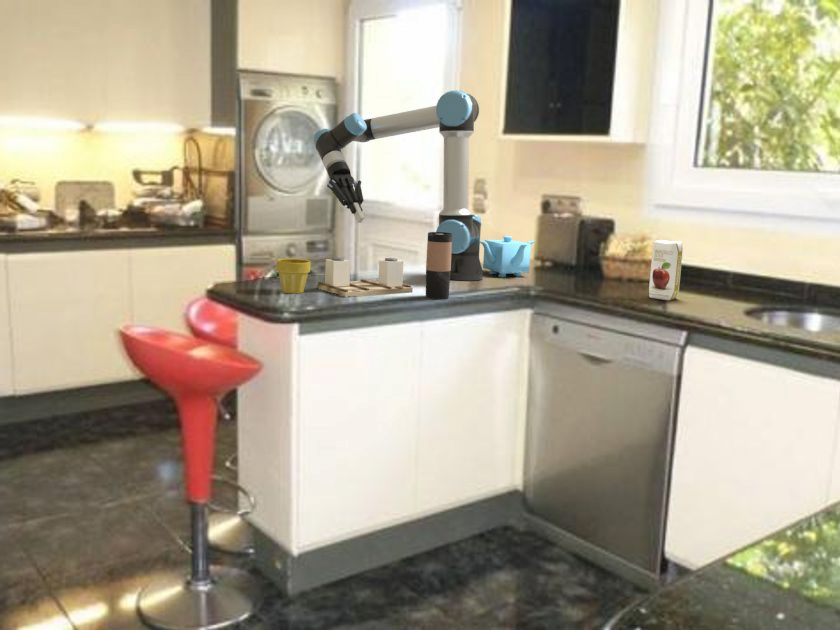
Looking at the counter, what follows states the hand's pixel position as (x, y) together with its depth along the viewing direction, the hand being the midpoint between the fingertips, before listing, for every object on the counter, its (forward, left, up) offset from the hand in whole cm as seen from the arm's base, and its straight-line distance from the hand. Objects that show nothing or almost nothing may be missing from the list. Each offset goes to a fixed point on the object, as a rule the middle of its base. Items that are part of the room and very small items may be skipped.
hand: (361, 220), depth 281 cm
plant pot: (+25, +20, -21) cm, 39 cm away
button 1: (+11, +17, -19) cm, 28 cm away
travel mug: (-18, +32, -21) cm, 42 cm away
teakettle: (-60, -14, -21) cm, 65 cm away
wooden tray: (+2, +18, -21) cm, 28 cm away
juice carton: (-95, +37, -21) cm, 104 cm away
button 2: (-6, +18, -19) cm, 27 cm away
